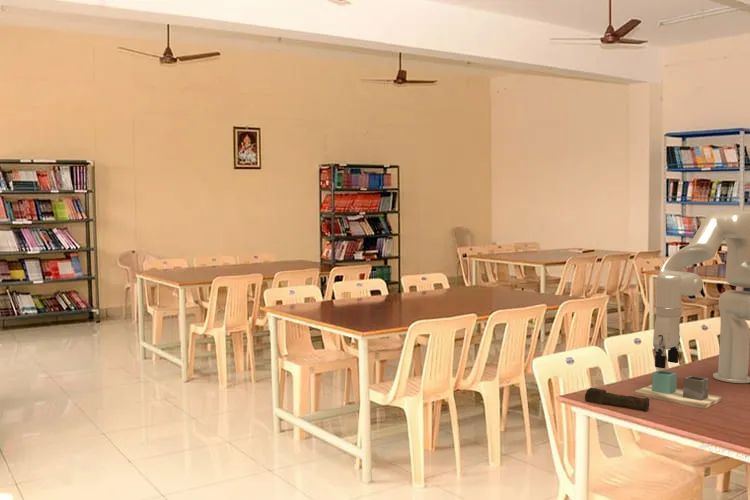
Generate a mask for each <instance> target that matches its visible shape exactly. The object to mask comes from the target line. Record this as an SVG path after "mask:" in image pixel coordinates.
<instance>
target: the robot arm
mask: <svg viewBox="0 0 750 500" xmlns="http://www.w3.org/2000/svg"><path fill="white" fill-rule="evenodd" d="M724 240H725V243H726V247H727V248H726V251H727V252H726V263H725V266H726V267H725V280H726V282H727V284H728V285H730V286H732V287H733V286H734V287H737V288H738V287H740V288H748V289H750V210H740V209H727V210H726V209H725V210H721V211H717V212H715V211H714V212H711V213H709V214H707V215H706V216H705V217H704V218H703V221H702V223H701V224H700V226H699V227H698V229H697V231H696V233H695V234H694V236H693V237H692V239H691V241H690V243H689V244H688V245H686V246H683V247H682V248H681V249H679V250H677V251H676V252H675V253H673V254H671V255H670V256H669V257H668V258H667V259H666V260H665V261H664V262H663V264H662V266H661V268H660V270H659V272H658V273H657V277H656V280H655V281H656V284H655V285H656V287H655V288H656V289H655V321H654V328H653V339H652V347H653V348H654V367H655V368H659V369H666V363H667V362H668V363H674V364H678V363H679V349H680V340H681V339H680V338H681V335H680V334H681V333H680V332H681V331H680V319H681V317H682V315H681V314H682V312H681V311H682V296H685V297H686V296H687V297H693V296H696V295H698V294H700V293H701V291H702V289H703V287H704V282H703V281H704V280H703V279H702V277H701V276H700V275H699V274H697V273H694V272H689V271H687V272H686V271H682V270H683V269H686V268H687V267H689V266H692V265H696V264H699V263H704V262H706V261H709V260H711V259H713V258H714V257H715V255H716V254H717V252H718V250H719V248H720V247H721V245H722V243H723V241H724ZM718 310H719V318H720V326H719V327H720V329H719V346H718V347H719V349H718V368H717V372H714V373H713V374H712V377H713V379H715V380H717V381H721V382H727V383H733V384H749V383H750V375H748V374H749V362H750V361H749V360H750V359H749V358H750V326H749V324H748V323H747V320H750V291H746V290H737V289H729V290H726V291H724V292H722V293H721V294H720V296H719V299H718ZM666 351H667V356H666ZM666 360H667V362H666Z"/></svg>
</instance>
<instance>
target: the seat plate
mask: <svg viewBox="0 0 750 500" xmlns="http://www.w3.org/2000/svg"><path fill="white" fill-rule="evenodd" d="M682 384H683V387H682V388H677V387H676V392H673V393H671V394H665V393H660V392H655V391H652V384H649V385H648V386H644V387H642V388H640V389H637V390H634V395H636V396H640V397H645V398H649V399H654V400H659V401H665V402H669V403H673V404H674V403H675V404H677V405H679V404H680V405H684V406H688V407H693V408H698V409H703V410H705V409H708V408H710V407H712V406H714V405H716V404H717V403H720V402H722V400H723V399H722V398H723V397H722V396H720V395H719V396H718V395H714V394H709V388H710V387H709V386H710V385H709V384H710V378H707V377H702V376H701V377H700V376H696V375H689V376H686V377H683V383H682Z"/></svg>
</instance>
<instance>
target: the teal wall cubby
mask: <svg viewBox="0 0 750 500" xmlns="http://www.w3.org/2000/svg"><path fill="white" fill-rule="evenodd" d="M677 378H678V373H677V372H673V371H667V370H663V369H662V370H661V369H659V370H656V371H654V372H653V371H652V379H651V380H652V381H651V382H652V383H651V385H652V391H655V392H660V393H665V394H671V393H673V392H676V388H677V381H678V379H677Z"/></svg>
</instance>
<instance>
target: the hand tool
mask: <svg viewBox="0 0 750 500" xmlns="http://www.w3.org/2000/svg"><path fill="white" fill-rule="evenodd" d="M584 400H585V401H586V402H589V403H592V402H593V403H592V404H597V403H598V404H597V405H606V404H608V405H613V406H614V405H615V406H620V407H625V408H632V409H636V410H643V411H644V412H648V410H649V409H650V398H649V397H645V398H643V397H638V396H632V395H624V394H616V393H612V392H607V389H602V388H601V389H600V388H597V387H590V388H588V389H587V390H586V392H585V394H584Z"/></svg>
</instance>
